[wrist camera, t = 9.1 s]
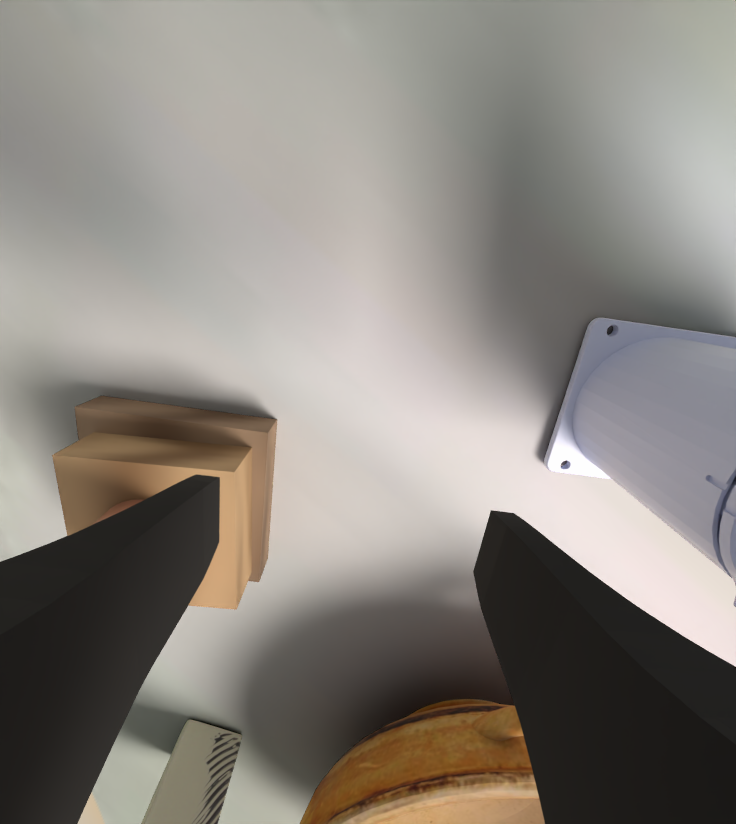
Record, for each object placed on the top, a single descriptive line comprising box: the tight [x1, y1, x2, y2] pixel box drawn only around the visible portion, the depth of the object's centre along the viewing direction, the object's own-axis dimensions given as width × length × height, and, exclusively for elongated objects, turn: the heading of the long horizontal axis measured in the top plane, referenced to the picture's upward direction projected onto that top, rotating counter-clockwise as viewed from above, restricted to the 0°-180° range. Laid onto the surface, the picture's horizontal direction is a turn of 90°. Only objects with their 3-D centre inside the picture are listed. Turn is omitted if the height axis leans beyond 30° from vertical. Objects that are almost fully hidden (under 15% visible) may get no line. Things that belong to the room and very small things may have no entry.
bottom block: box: [75, 396, 277, 582], centre depth 20 cm, size 9×9×2 cm
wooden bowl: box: [300, 699, 545, 824], centre depth 25 cm, size 30×24×8 cm
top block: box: [52, 432, 252, 609], centre depth 18 cm, size 8×8×2 cm
